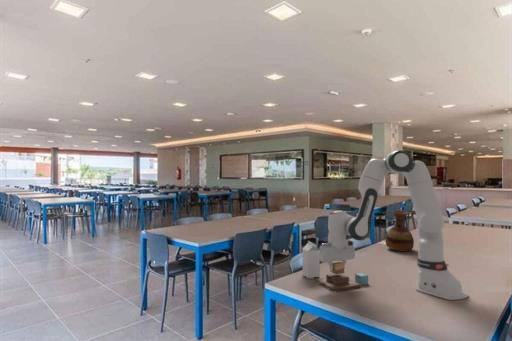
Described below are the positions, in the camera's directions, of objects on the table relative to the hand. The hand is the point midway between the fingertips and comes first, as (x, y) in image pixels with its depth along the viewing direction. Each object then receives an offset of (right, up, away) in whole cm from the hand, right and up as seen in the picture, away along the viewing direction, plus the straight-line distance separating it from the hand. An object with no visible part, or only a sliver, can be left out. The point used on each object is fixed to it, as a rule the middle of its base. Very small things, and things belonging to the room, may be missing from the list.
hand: (337, 269), depth 162 cm
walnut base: (0, -8, 0) cm, 8 cm away
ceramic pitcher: (+68, -10, +79) cm, 104 cm away
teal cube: (+13, -8, +2) cm, 16 cm away
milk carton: (-11, -8, +14) cm, 19 cm away
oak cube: (0, -2, 0) cm, 2 cm away
